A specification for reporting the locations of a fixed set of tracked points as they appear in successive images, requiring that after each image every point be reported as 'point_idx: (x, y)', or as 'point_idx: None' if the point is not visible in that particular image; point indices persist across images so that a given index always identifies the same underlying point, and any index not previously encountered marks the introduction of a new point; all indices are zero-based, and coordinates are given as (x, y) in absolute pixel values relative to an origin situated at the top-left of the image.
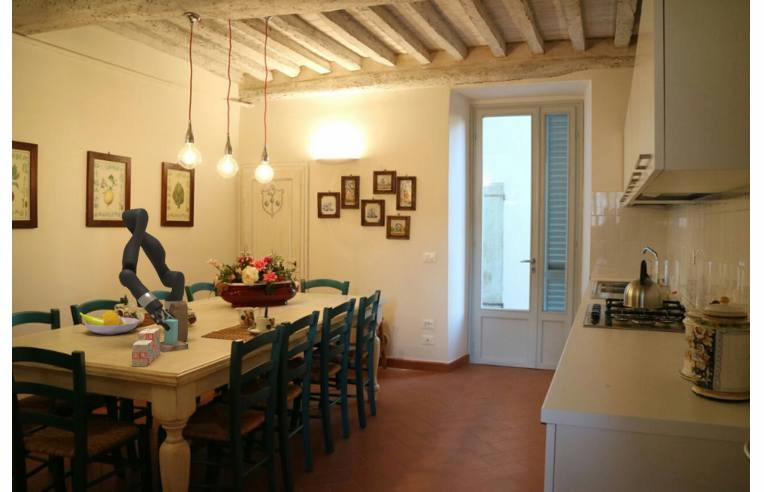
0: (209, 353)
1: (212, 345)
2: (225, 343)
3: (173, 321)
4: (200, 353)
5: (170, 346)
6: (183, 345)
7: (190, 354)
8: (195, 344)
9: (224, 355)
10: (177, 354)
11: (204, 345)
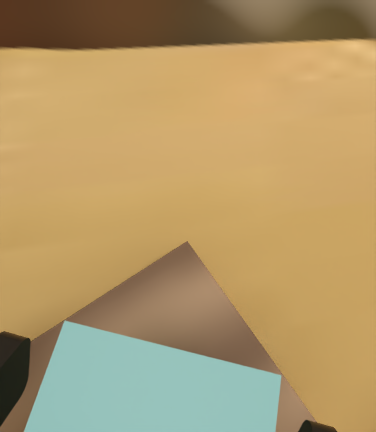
0: (319, 111)
1: (85, 113)
2: (36, 50)
3: (273, 391)
4: (323, 158)
5: (286, 383)
6: (211, 278)
7: (358, 213)
8: (24, 224)
9: (359, 42)
10: (369, 301)
11: (75, 160)
